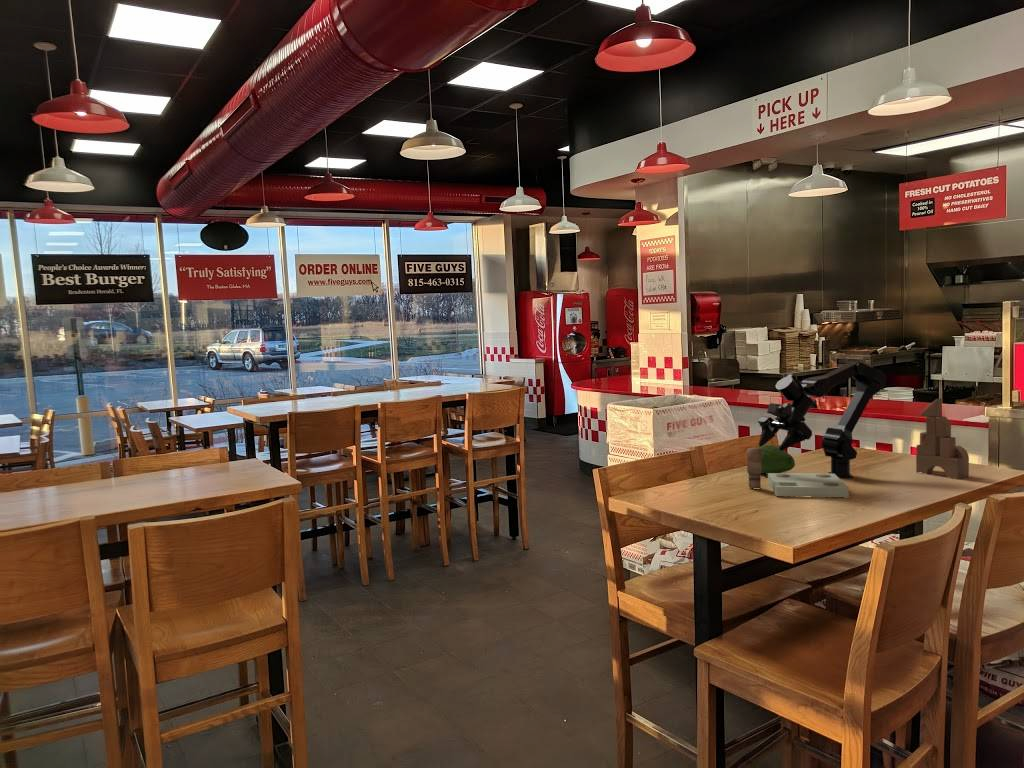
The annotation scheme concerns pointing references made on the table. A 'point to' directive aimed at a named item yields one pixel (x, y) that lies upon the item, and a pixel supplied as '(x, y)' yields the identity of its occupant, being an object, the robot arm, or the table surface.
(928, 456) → the wooden toy
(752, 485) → the stool leg
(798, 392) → the robot arm
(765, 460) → the fruit
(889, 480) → the table surface
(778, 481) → the seat board
